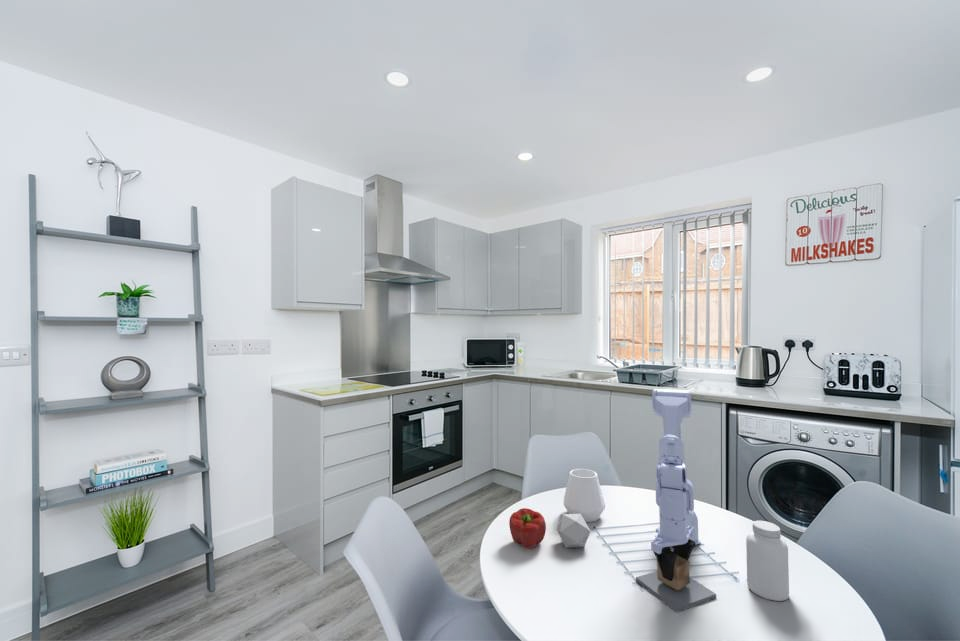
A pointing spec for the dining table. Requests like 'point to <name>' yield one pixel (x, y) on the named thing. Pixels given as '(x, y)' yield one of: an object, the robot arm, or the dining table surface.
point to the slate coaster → (676, 592)
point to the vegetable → (527, 527)
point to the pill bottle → (767, 562)
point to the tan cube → (677, 574)
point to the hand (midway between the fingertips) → (674, 574)
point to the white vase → (584, 495)
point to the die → (573, 530)
